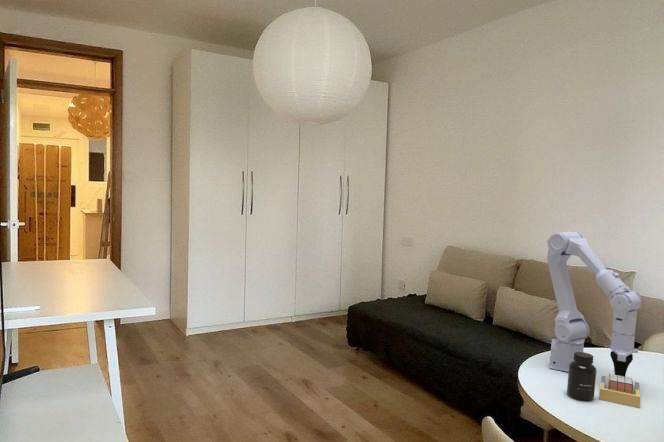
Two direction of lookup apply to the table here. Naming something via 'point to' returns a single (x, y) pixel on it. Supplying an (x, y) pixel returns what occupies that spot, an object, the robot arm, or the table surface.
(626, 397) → the tube holder
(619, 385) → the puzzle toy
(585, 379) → the supplement bottle
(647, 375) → the table surface
